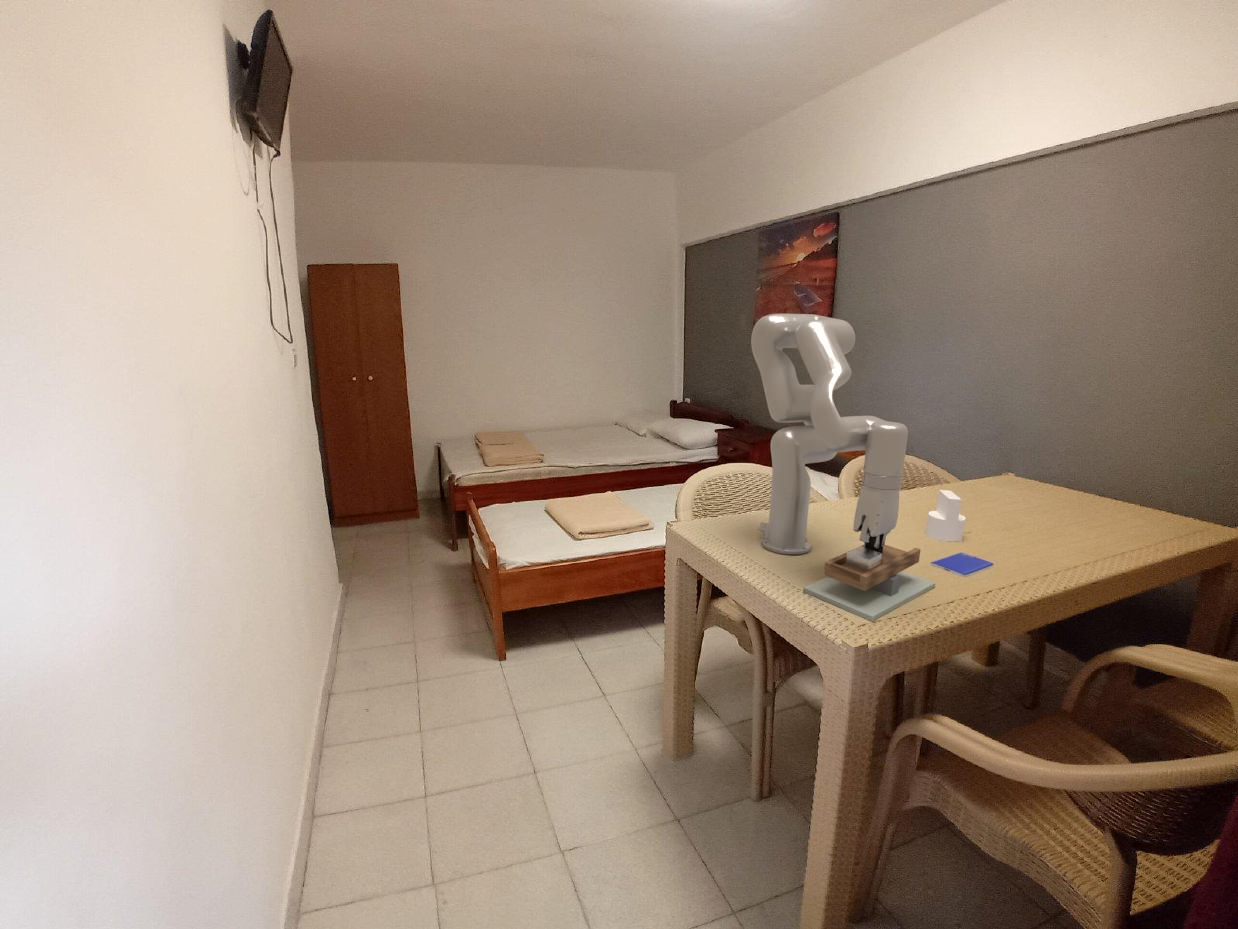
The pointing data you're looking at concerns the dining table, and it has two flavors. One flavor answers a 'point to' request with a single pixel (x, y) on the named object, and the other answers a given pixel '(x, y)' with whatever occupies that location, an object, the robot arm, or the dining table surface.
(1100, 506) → the dining table surface
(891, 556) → the beam
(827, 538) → the dining table surface
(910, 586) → the beam stand
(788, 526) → the robot arm
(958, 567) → the hard drive
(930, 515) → the base with upright slab
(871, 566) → the steel block
